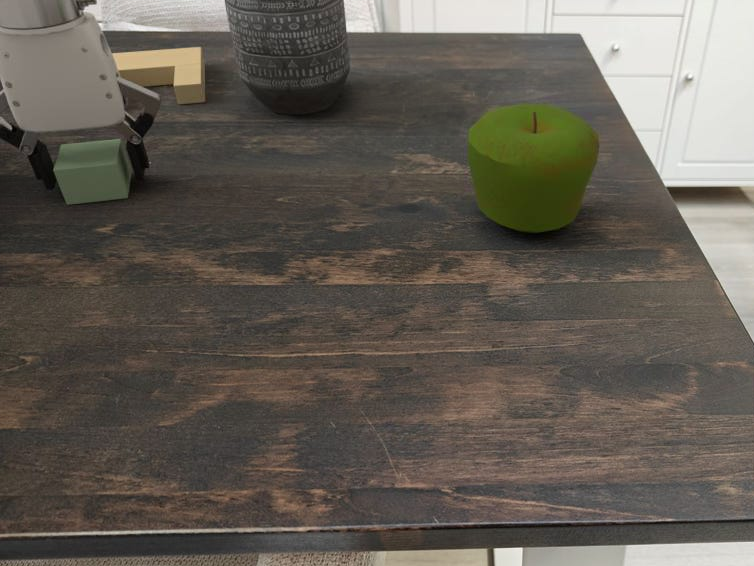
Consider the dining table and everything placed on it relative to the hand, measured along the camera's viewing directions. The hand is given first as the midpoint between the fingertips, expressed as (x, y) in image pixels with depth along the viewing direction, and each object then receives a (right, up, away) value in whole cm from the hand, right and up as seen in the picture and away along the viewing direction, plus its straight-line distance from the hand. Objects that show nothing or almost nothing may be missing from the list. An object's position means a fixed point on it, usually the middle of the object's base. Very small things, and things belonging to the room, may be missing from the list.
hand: (97, 178), depth 79 cm
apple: (+46, -5, -2) cm, 46 cm away
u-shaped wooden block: (-4, +18, +22) cm, 28 cm away
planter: (+17, +15, +19) cm, 30 cm away
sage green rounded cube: (0, -1, +1) cm, 1 cm away
